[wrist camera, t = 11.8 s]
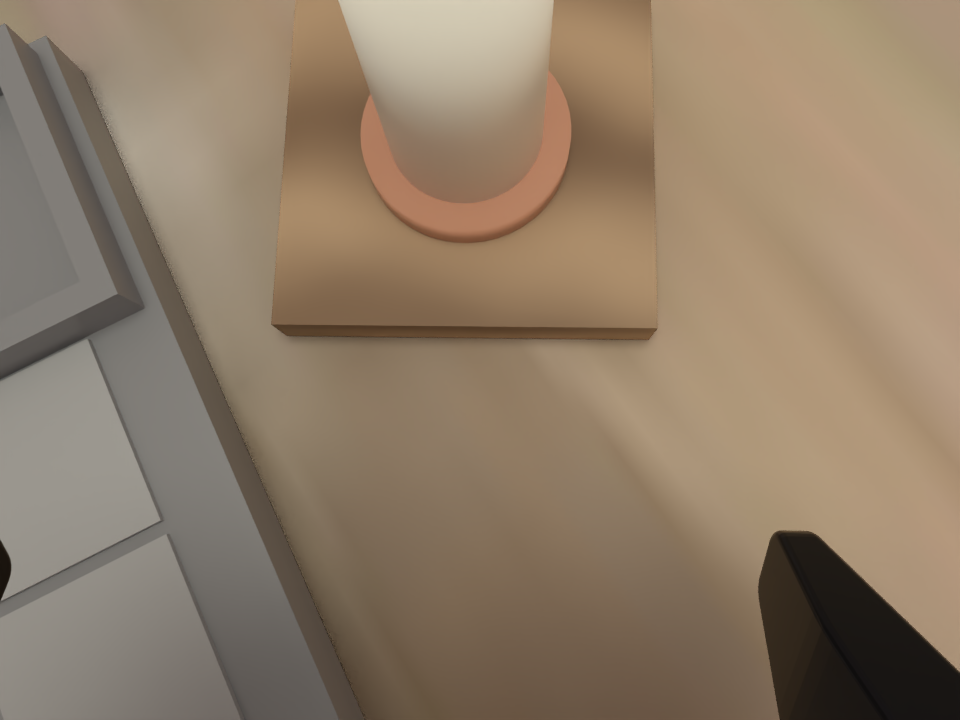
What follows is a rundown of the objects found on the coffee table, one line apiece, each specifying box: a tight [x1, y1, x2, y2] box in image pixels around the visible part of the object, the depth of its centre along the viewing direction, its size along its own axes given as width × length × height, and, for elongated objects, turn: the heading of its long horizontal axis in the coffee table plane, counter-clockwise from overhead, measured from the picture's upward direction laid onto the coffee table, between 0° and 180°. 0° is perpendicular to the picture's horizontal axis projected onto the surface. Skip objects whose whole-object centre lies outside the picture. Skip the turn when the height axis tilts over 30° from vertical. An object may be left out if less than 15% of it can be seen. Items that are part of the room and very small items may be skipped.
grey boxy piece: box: [0, 24, 365, 720], centre depth 21 cm, size 24×10×4 cm, turn 27°
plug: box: [338, 0, 571, 243], centre depth 17 cm, size 6×6×12 cm
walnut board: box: [271, 0, 658, 340], centre depth 23 cm, size 11×11×2 cm
